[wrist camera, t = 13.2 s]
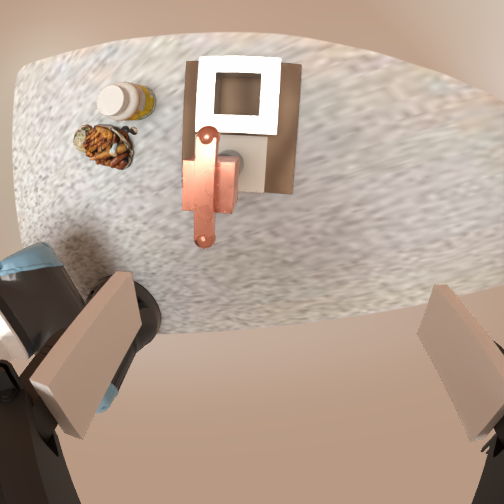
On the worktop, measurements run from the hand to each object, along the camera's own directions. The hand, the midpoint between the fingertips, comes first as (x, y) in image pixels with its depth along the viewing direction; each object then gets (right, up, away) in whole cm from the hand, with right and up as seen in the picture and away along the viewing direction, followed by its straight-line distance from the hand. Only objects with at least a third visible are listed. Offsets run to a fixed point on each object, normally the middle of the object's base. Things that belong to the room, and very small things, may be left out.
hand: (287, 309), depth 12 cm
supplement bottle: (-18, +25, +27) cm, 41 cm away
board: (-3, +20, +28) cm, 35 cm away
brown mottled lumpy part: (-25, +20, +30) cm, 44 cm away
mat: (-4, +15, +29) cm, 33 cm away
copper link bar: (-5, +15, +29) cm, 32 cm away
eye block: (-3, +23, +25) cm, 35 cm away
